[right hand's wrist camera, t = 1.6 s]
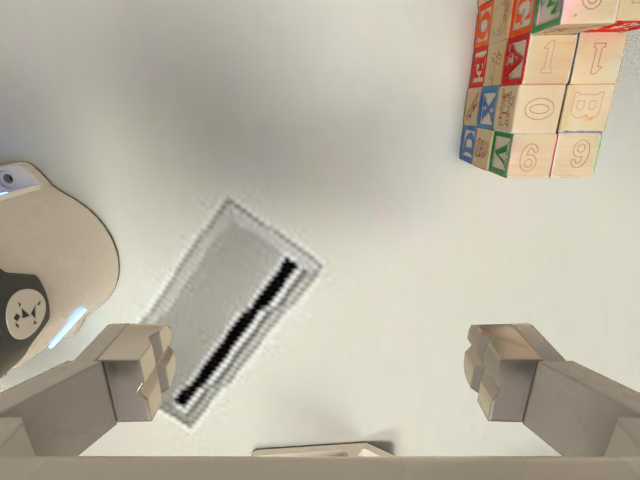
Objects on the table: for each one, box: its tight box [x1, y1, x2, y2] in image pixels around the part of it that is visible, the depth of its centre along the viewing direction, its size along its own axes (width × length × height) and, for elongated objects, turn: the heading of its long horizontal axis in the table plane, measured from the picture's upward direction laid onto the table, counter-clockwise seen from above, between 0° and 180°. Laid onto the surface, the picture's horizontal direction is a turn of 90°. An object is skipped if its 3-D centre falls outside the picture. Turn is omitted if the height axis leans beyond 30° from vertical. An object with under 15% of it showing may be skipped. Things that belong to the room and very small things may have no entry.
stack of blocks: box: [460, 0, 640, 178], centre depth 25 cm, size 21×6×12 cm, turn 0°
